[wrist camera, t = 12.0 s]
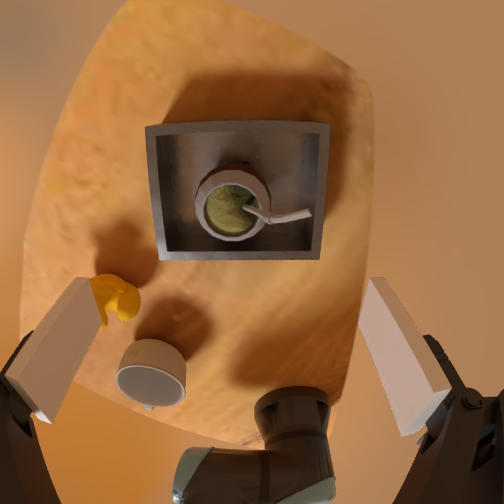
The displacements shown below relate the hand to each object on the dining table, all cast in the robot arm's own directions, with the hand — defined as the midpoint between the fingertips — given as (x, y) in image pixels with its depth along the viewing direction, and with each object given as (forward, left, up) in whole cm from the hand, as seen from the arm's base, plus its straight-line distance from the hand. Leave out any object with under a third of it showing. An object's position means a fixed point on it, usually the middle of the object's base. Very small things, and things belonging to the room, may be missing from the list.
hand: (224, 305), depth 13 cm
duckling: (-14, +18, -22) cm, 32 cm away
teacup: (-29, +14, -22) cm, 39 cm away
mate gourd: (0, 0, -21) cm, 21 cm away
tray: (0, 0, -22) cm, 22 cm away
